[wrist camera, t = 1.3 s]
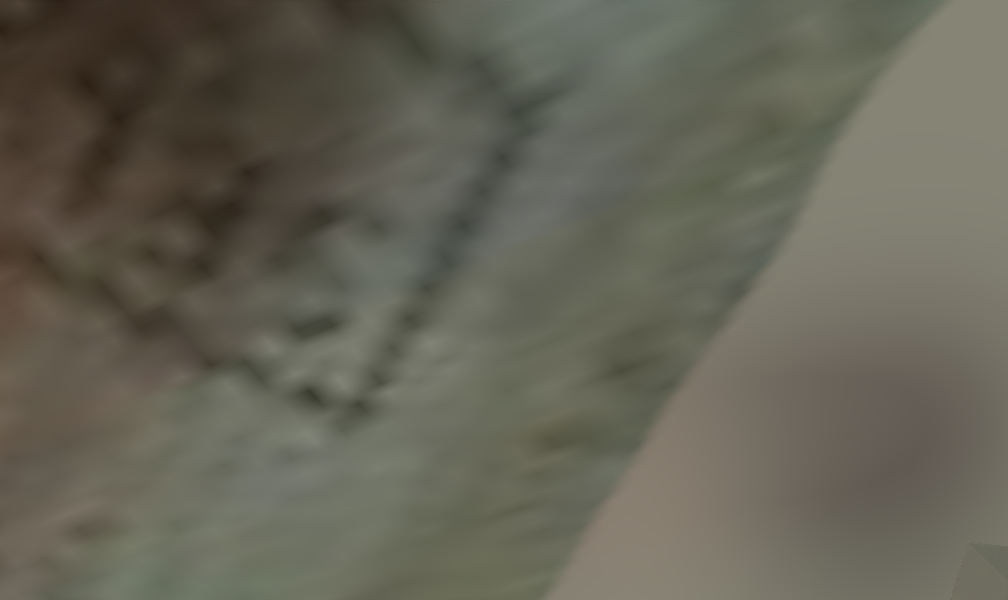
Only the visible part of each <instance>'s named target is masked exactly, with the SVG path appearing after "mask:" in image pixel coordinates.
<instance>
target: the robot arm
mask: <svg viewBox="0 0 1008 600" xmlns="http://www.w3.org/2000/svg"><path fill="white" fill-rule="evenodd" d="M951 600H1008V547H1007V546H999V545H990V544H982V543H975V542H967V544H966V547H965V551H964V554H963V558H962V561H961V565H960V568H959V572H958V575H957V579H956V582H955V586H954V589H953V593H952V596H951Z"/></svg>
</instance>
